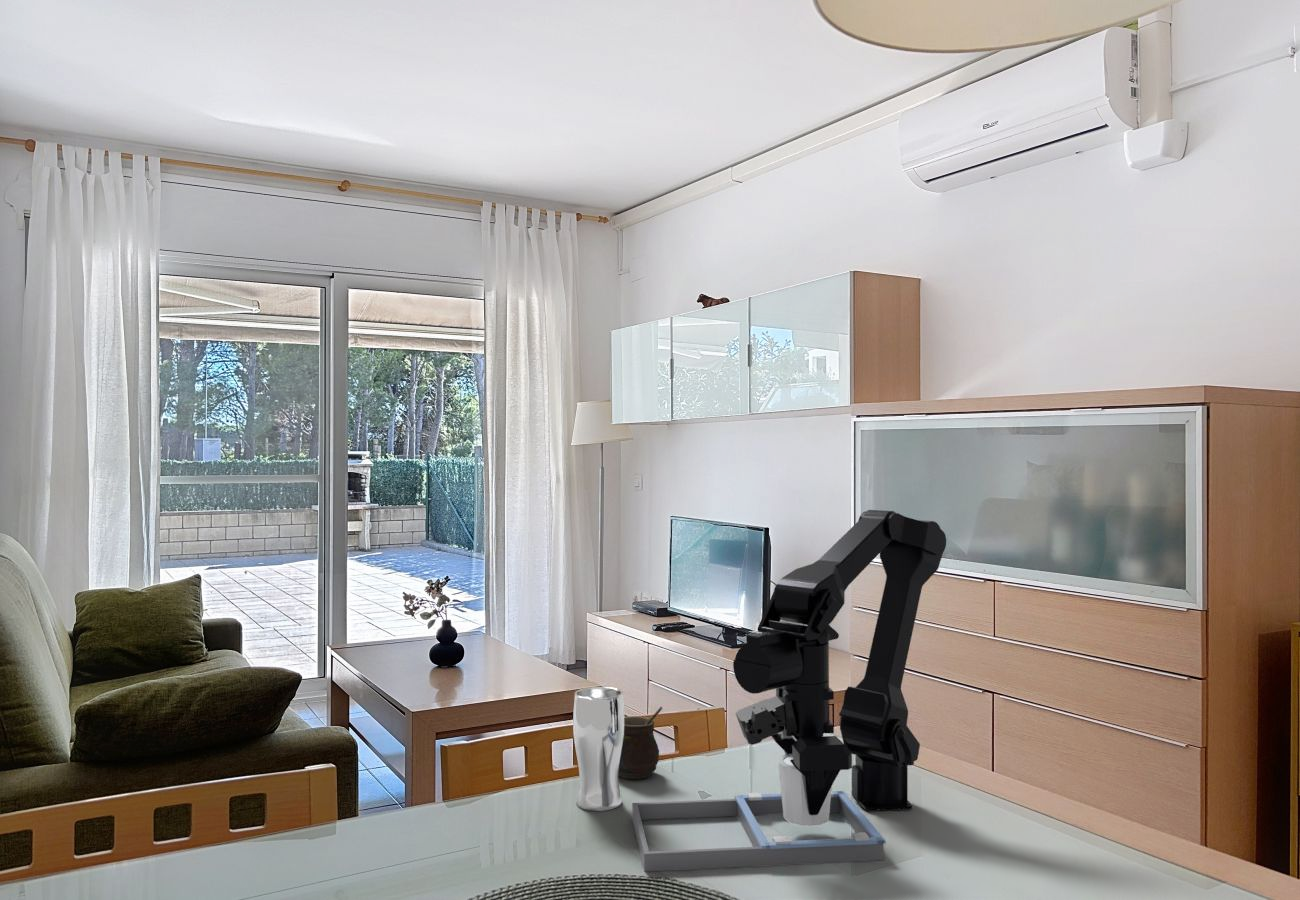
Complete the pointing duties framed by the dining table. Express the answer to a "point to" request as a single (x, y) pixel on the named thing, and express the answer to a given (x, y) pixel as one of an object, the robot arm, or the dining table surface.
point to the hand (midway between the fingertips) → (806, 804)
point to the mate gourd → (639, 748)
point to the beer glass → (598, 746)
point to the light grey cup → (798, 796)
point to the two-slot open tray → (757, 835)
